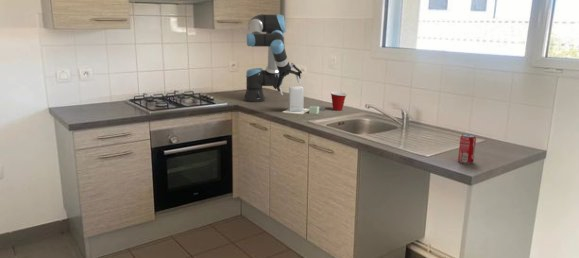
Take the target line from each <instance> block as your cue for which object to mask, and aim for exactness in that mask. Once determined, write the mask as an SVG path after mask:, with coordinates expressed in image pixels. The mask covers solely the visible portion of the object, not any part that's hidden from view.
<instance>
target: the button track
mask: <svg viewBox="0 0 579 258" xmlns="http://www.w3.org/2000/svg"><path fill="white" fill-rule="evenodd" d="M325 110H326V107H321V106H319V112H320V111H322V112H323V111H325Z"/></svg>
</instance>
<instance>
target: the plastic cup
mask: <svg viewBox="0 0 579 258" xmlns="http://www.w3.org/2000/svg"><path fill="white" fill-rule="evenodd" d="M346 96H347V93H345V92H342V91H341V92H339V91H330V97H331V104H332V110H333V111H336V112H338V111H339V112H341V111H343V108H344V103H345V100H346Z"/></svg>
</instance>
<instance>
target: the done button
mask: <svg viewBox="0 0 579 258" xmlns="http://www.w3.org/2000/svg"><path fill="white" fill-rule="evenodd" d="M319 107H320V106H318V105H311V106H309V108H308V109H309V110H308V111H309V115H310V114H311V115H312V114H313V115H318V114H320V110H319Z"/></svg>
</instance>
